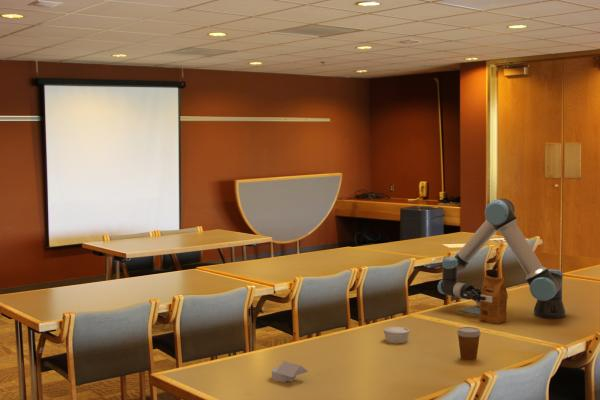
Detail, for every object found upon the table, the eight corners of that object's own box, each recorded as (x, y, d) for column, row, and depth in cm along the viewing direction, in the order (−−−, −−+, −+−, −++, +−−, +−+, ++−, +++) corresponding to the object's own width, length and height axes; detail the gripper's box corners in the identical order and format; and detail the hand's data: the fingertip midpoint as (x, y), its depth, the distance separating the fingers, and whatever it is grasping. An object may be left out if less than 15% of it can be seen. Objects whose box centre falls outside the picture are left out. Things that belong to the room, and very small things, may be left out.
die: (488, 310, 402) (496, 294, 404) (473, 302, 403) (481, 286, 405) (484, 312, 410) (492, 297, 412) (470, 304, 411) (478, 288, 413)
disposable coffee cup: (453, 355, 319) (454, 326, 318) (476, 354, 319) (476, 326, 318) (460, 362, 309) (460, 332, 308) (483, 361, 310) (484, 332, 309)
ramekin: (412, 343, 338) (412, 332, 337) (387, 345, 336) (387, 333, 335) (404, 337, 349) (404, 325, 348) (380, 338, 347) (380, 327, 346)
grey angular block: (308, 380, 289) (283, 373, 298) (308, 362, 288) (283, 356, 297) (292, 386, 282) (267, 378, 291) (292, 368, 282) (266, 361, 291)
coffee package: (488, 317, 384) (488, 273, 382) (509, 321, 375) (510, 276, 373) (476, 320, 377) (476, 276, 376) (497, 325, 368) (498, 279, 366)
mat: (500, 313, 393) (500, 312, 393) (486, 316, 385) (486, 315, 385) (471, 307, 406) (471, 306, 406) (457, 311, 398) (457, 310, 398)
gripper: (479, 295, 397) (514, 302, 379) (448, 301, 383) (483, 309, 365) (479, 280, 396) (515, 287, 379) (448, 286, 382) (483, 293, 365)
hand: (499, 298), depth 372 cm, fingers open, 11 cm apart
